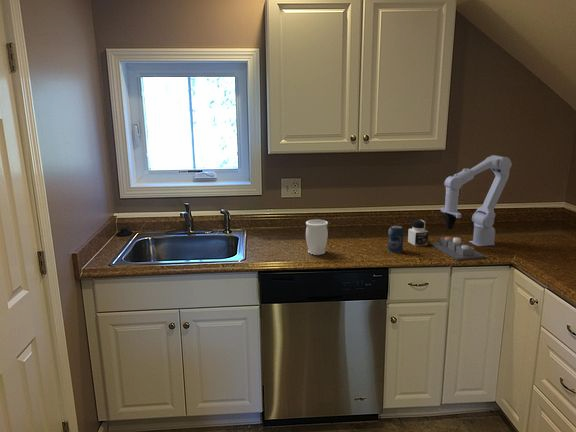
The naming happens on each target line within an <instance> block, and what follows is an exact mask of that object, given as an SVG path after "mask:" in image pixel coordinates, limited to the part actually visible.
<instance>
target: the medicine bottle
mask: <svg viewBox="0 0 576 432" xmlns="http://www.w3.org/2000/svg"><path fill="white" fill-rule="evenodd" d="M407 235H408V236H407V243H409V244H411V245H412V246H414V247H420V246H427V245H428V244H429V243H428V242H429V231H428V230H426V220H423V219H414V220H413V221H412V228H408V233H407Z"/></svg>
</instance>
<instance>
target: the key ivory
mask: <svg viewBox="0 0 576 432" xmlns="http://www.w3.org/2000/svg"><path fill="white" fill-rule="evenodd" d="M452 238H453V244H455V245H457V244H461V242H462V238H461V237H452Z"/></svg>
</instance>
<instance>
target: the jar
mask: <svg viewBox="0 0 576 432" xmlns="http://www.w3.org/2000/svg"><path fill="white" fill-rule="evenodd" d="M328 222H329V221H327V220H324V219H309V220H306V222H305V225H306V228H305V240H306V241H305V242H306V246H307V247H308V250H307V253H308V254H309V253H310V254H311V255H312V254H313V255H314V256H321V255H324V254H325V253H326V250H325V249H326V247H327V241H328V235H329V234H328V233H329V232H328V224H329V223H328ZM310 254H309V255H310Z"/></svg>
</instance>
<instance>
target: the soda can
mask: <svg viewBox="0 0 576 432" xmlns="http://www.w3.org/2000/svg"><path fill="white" fill-rule="evenodd" d="M387 236H388V237H387V250H388V251H389V252H390V253H393V254H398V253H401V252H402V251H403V246H404V228H403V226H401V225H395V224H394V225H390V226H389V228H388V234H387Z"/></svg>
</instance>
